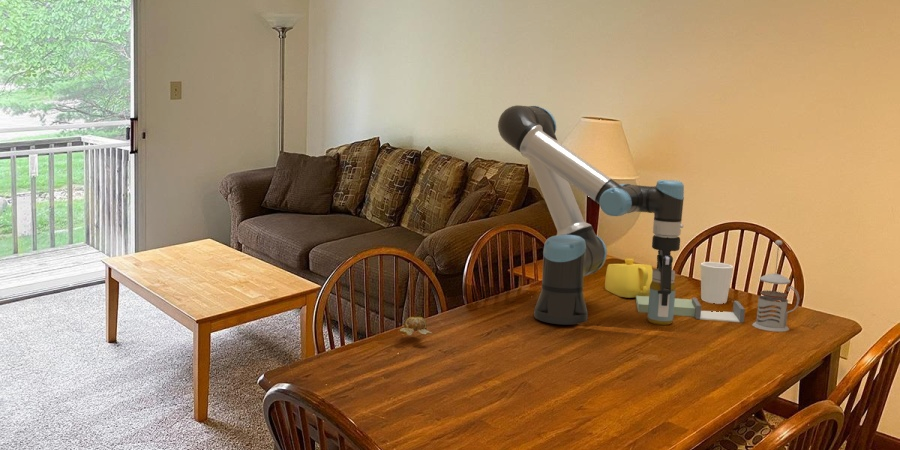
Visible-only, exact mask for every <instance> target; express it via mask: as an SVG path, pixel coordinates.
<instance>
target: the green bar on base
mask: <svg viewBox="0 0 900 450" xmlns="http://www.w3.org/2000/svg"><path fill="white" fill-rule="evenodd" d="M635 304H636V309H637V312H638V313H645V314H648V305H649V296H636V297H635ZM711 311H713V312H711ZM716 311H717V310H716ZM716 311H715V310H702V305H701V303H700V302H699V300H698V298H697V297H691V298H690V299H687V298H676V297H675V302H674V314H673V316H679V317H681V316H682V317H692V318H693V317H694V318H695V320H703V321H705V320H706V321H714V322H715V321H717V322H729V323H743V324H744V323H745V315H746V314H745V313H746V309H745V307H744V306H743V305H742V304H741V303H740V302H739V301H738V300H733V305H732V311H723V312H720V310H718V311H719V312H716Z"/></svg>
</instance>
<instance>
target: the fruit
mask: <svg viewBox="0 0 900 450" xmlns="http://www.w3.org/2000/svg"><path fill="white" fill-rule="evenodd" d="M403 326H404V327H403V328H400V329H399V332H400V333H402V334H404V335H406V336H411V335H412V334H413V333H414V331H415V332H416V331H418V332H419V333H420V334H422V335H429V334H433V332H431V331H429V330H427V321H426V320H425V318H424V317H422V316H409V317H407V318H406V320H405V322H404V325H403Z"/></svg>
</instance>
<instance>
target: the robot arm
mask: <svg viewBox="0 0 900 450" xmlns="http://www.w3.org/2000/svg"><path fill="white" fill-rule="evenodd" d="M497 129H498V132H499V133H498V134H499V136H500V137H501V138H502V140H503V141H504V142H505V143H507V145H509V146H511V147H512V148H513V149H515V150H516V151H518V152H519V153H520V154H521V156H522V157H523V158H526V159H527V160H528V161H529V163H530V166H531V168H532V170H533V174H534V176H535V179H536V180H537V183H538V186H539V188H540V190H541V193H542V195H543V198H544V201H545V204H546V206H547V208H548V209H547V210H548V211H549V213H550V215H551V219H552V221H553V223H554V226H555V228H556V231H557V232H556V235H553V236H550V237H548V238H547V239H545V242H544V244H543V245H544V246H543V249H542V250H543V251H542V254H543V257H542V275H541V277H542V279H541V291H540V294H539V296H538V300H537V301H536V304H535V307H534V311H533V312H534V313H533V317H534V318H535V319H536V320H538V321H541V322H543V323H548V324H554V325H565V326H566V325H567V326H568V325H570V326H571V325H578V324H582V323H585V322H587V321H588V310H587V304H586V300H585V297H584V291H583V290H584V280H585V279H584V278H585V276H588V275H592V274H595V273H596V272H597V271H598V270H600V269H601V268H602V267H603V266H604V264H605V263H606V259H607V255H608V251H607V245H606V243H605V242H604V240H602V238H601V237H599V236H598V235H597V234H596V233H595V231H594V227H593V226H592V224H590V223H588V222H586V221H585V220H584V216H583V215H582V211H581V209H580V206H579V204H578V203H577V199H576V197H575V195H574V192H573V190H572V187H571V185H572V186H573V187H574V188H576V189H577V190H579V191H581V192H582V193H583V194H584V195H586V196H587V197H589V198H590V199H591V200H593V201H594V202H596V203H597V204H599V207H600V208H601V211H602V212H603V213H604V214H606V215H607V216H610V217H622V216H624V215H626V214H630V213H635V212H637V213H648V214H653V216H654V218H653V223H652V224H653V225H652V233H653V236H652V241H651V243H652V244H651V248H652V249H654V250H656V251H657V255H656V269H659V271H660V272H661V280H660V291H658V294H659V305H658V317H668V311H669V298H670V293H671V272H672V270H673V261H674V258H673V256H672V255H671V254H672V253H671V252H677V251H679V250H681V249H680V246H681V238H680V237H679V236H680V235H681V233H682V229H683V228H684V224H682V221H683V209H684V208H683V207H684V200H685V196H684V194H685V190H684V189H685V185H684V183H683V182H681V181H680V180H671V179H670V180H668V179H667V180H665V179H660V180H657V181H656V185H655V186H650V185H649V186H648V185H637V184H630V183H619V182H617V181H615V180H613V179H612V178H611V177H610V176H608V175H607V174H605V173H604V172H602V171H601V170H599V169H598V168H597V167H595V166H593V165H592V164H591V163H589V161H586V159H584V158H583V157H580V155H577V154H576V153H575V152H574V151H573V150H570V149H569V148H568V147H567V146H565V145H563V144H562V143H560V142H559V141H558V139H557V138H558V137H556V131H557V121H556V119H555V117H554V116H553V114H552V113H551V112H550V111H549V110H547V108H544V107H542V106H538V105H537V106H536V105H529V106H528V105H517V104H515V105H511V106H509V107H508V108H506V109H505V110H504V111H503V112H502V113H501V114H500V116H499V118H498V123H497ZM664 288H667V289H664Z"/></svg>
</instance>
